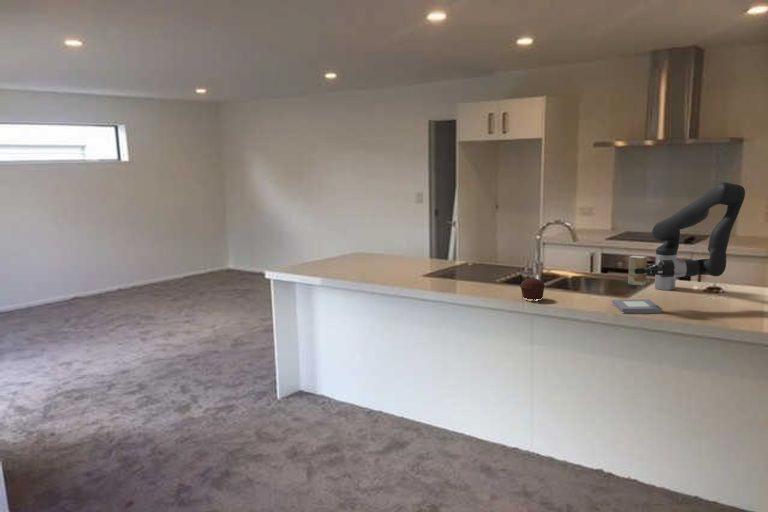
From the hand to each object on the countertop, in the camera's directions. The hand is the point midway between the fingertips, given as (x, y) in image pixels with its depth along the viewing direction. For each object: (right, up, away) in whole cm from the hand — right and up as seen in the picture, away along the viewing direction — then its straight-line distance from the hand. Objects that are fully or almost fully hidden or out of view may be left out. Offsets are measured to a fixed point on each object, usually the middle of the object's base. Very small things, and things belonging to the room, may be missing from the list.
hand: (632, 269), depth 252 cm
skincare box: (+2, -7, +1) cm, 7 cm away
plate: (+3, -17, +3) cm, 17 cm away
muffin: (-37, -15, +25) cm, 47 cm away
